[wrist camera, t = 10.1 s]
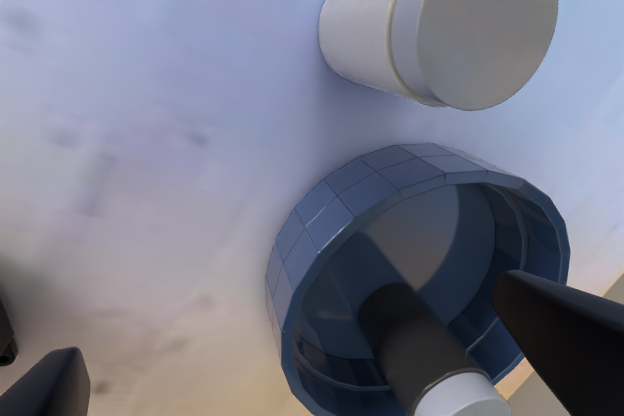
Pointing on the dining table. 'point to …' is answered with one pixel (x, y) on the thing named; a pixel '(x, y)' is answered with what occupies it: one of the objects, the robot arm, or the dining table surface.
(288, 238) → the bowl
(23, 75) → the dining table surface
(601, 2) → the dining table surface
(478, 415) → the pepper shaker
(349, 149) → the dining table surface
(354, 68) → the salt shaker
